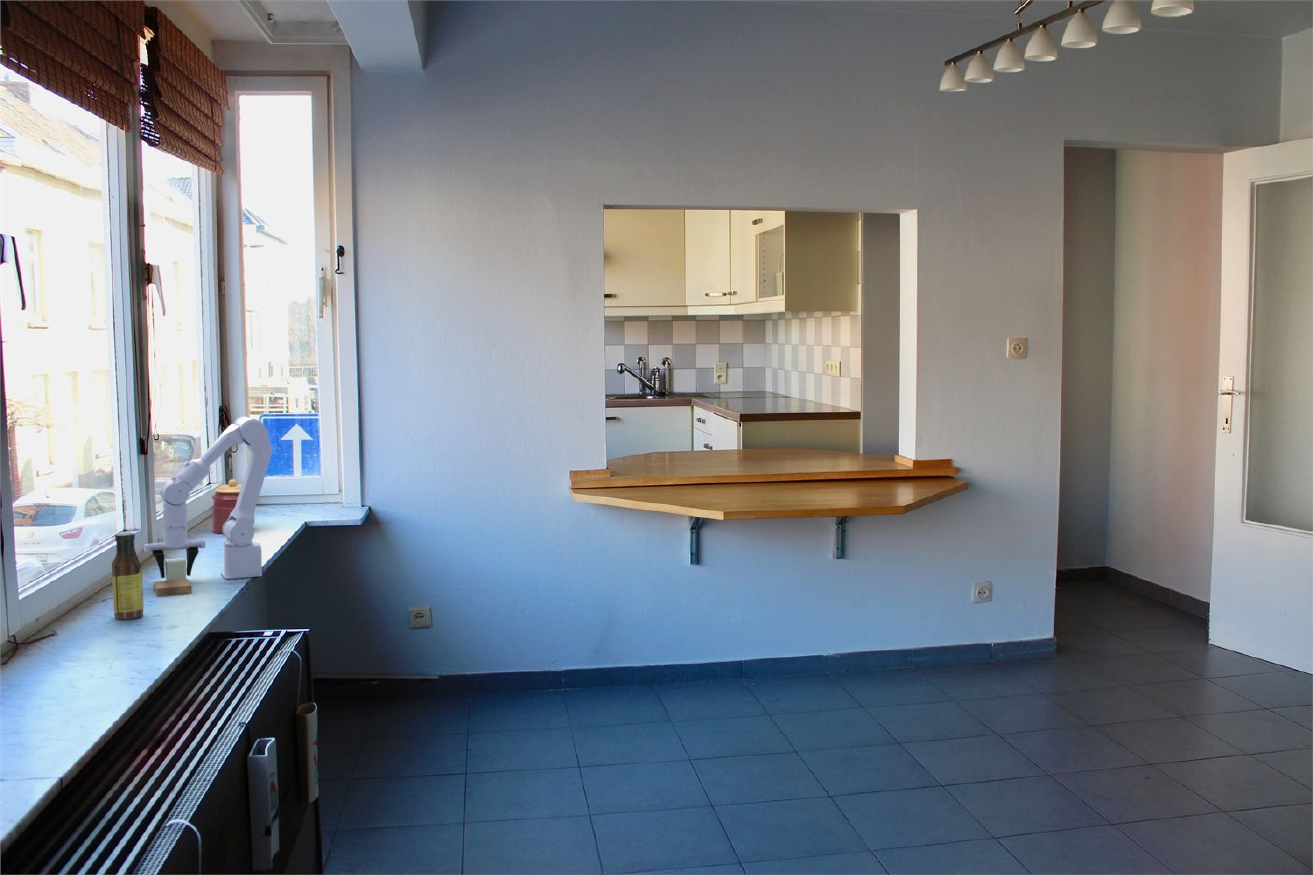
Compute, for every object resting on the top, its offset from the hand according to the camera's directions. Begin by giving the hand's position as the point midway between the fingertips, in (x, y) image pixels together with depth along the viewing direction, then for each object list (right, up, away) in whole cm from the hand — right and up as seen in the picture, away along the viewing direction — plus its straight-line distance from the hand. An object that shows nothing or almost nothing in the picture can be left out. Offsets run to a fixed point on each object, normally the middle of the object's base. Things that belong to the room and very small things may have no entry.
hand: (175, 576), depth 270 cm
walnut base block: (+4, -3, -9) cm, 10 cm away
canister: (-15, +5, +71) cm, 73 cm away
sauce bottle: (+5, -5, -33) cm, 34 cm away
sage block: (0, -2, 0) cm, 2 cm away
